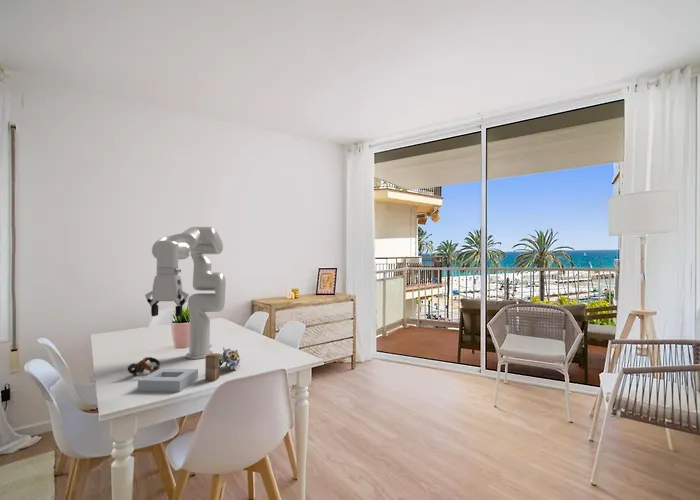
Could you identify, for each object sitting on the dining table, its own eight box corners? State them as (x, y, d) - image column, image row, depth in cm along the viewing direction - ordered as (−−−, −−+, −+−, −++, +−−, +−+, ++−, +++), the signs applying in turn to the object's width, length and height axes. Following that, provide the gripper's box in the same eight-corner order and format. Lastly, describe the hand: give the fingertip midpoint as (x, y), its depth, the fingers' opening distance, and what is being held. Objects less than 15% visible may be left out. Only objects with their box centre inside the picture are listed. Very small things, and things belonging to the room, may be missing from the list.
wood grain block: (209, 377, 145) (210, 353, 145) (219, 377, 144) (219, 353, 145) (205, 380, 141) (205, 355, 141) (215, 381, 140) (215, 356, 141)
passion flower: (234, 382, 154) (232, 365, 147) (211, 377, 155) (208, 359, 148) (245, 362, 163) (243, 345, 157) (223, 357, 164) (220, 340, 157)
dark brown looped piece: (148, 371, 154) (157, 355, 154) (156, 385, 149) (166, 368, 149) (120, 371, 145) (129, 354, 145) (127, 386, 139) (137, 368, 139)
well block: (160, 378, 143) (160, 368, 144) (197, 378, 143) (198, 369, 143) (137, 391, 130) (137, 380, 130) (179, 391, 129) (179, 380, 129)
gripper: (193, 271, 140) (193, 314, 139) (152, 271, 141) (151, 314, 141) (183, 272, 132) (182, 317, 132) (140, 272, 134) (139, 317, 133)
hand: (166, 315), depth 136 cm, fingers open, 9 cm apart
